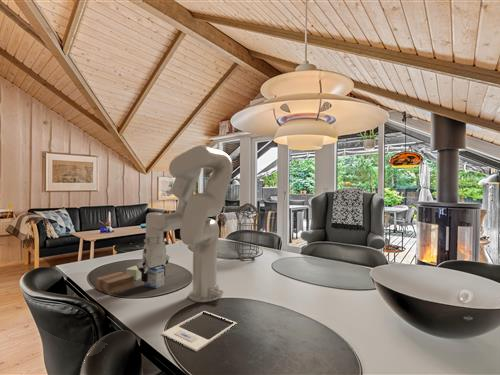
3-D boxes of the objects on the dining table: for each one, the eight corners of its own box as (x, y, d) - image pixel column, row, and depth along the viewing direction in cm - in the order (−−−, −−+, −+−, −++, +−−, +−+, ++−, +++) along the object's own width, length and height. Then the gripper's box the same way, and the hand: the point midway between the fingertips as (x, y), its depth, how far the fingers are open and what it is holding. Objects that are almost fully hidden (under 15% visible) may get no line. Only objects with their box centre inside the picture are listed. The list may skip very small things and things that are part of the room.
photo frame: (161, 332, 81) (204, 310, 95) (161, 335, 81) (204, 313, 95) (196, 349, 72) (237, 322, 87) (196, 353, 72) (237, 325, 87)
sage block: (144, 276, 133) (145, 266, 133) (136, 280, 127) (136, 270, 127) (134, 275, 135) (134, 265, 135) (125, 279, 129) (126, 268, 129)
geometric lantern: (231, 256, 174) (233, 202, 175) (254, 255, 179) (256, 202, 179) (237, 262, 159) (239, 203, 160) (262, 261, 163) (264, 203, 164)
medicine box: (143, 285, 121) (144, 266, 121) (151, 282, 125) (151, 263, 125) (156, 288, 117) (156, 268, 117) (164, 285, 121) (164, 266, 121)
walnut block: (133, 287, 119) (133, 276, 119) (108, 295, 110) (109, 283, 110) (120, 282, 125) (120, 271, 125) (95, 289, 116) (95, 277, 116)
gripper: (143, 244, 112) (142, 285, 112) (175, 238, 126) (174, 274, 126) (132, 242, 116) (131, 282, 116) (164, 236, 130) (163, 271, 130)
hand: (153, 278), depth 121 cm, fingers open, 9 cm apart
